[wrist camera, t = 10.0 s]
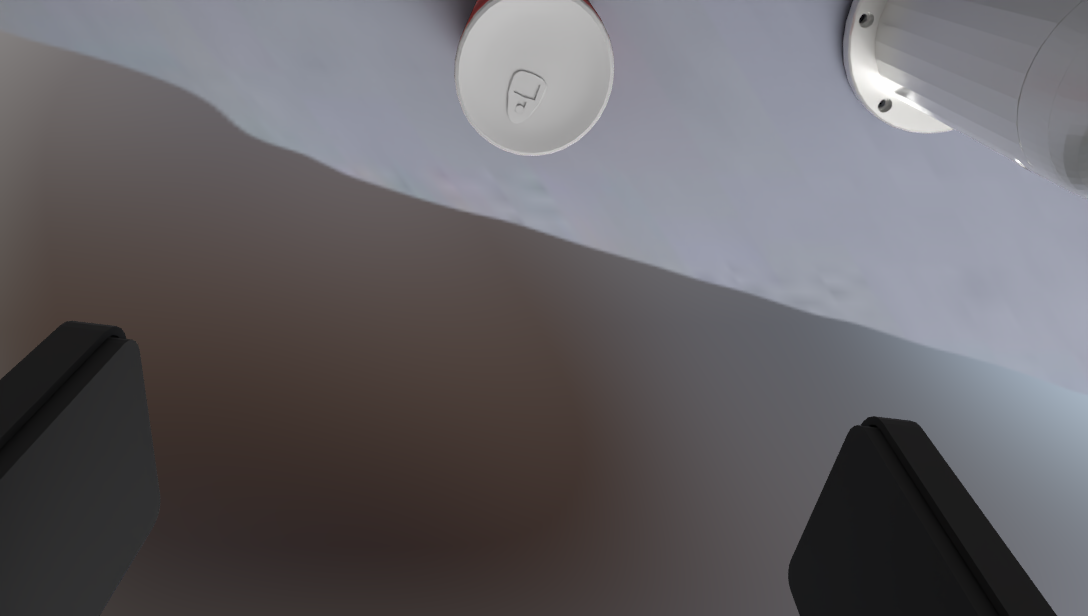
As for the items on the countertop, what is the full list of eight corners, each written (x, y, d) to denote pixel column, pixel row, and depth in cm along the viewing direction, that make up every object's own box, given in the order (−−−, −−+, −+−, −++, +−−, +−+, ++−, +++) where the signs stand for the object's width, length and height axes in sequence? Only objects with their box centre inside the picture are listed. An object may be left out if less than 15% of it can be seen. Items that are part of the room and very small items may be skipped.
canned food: (464, 96, 46) (449, 150, 36) (472, -44, 42) (457, -25, 33) (585, 109, 47) (601, 165, 37) (604, -29, 43) (628, -6, 33)
